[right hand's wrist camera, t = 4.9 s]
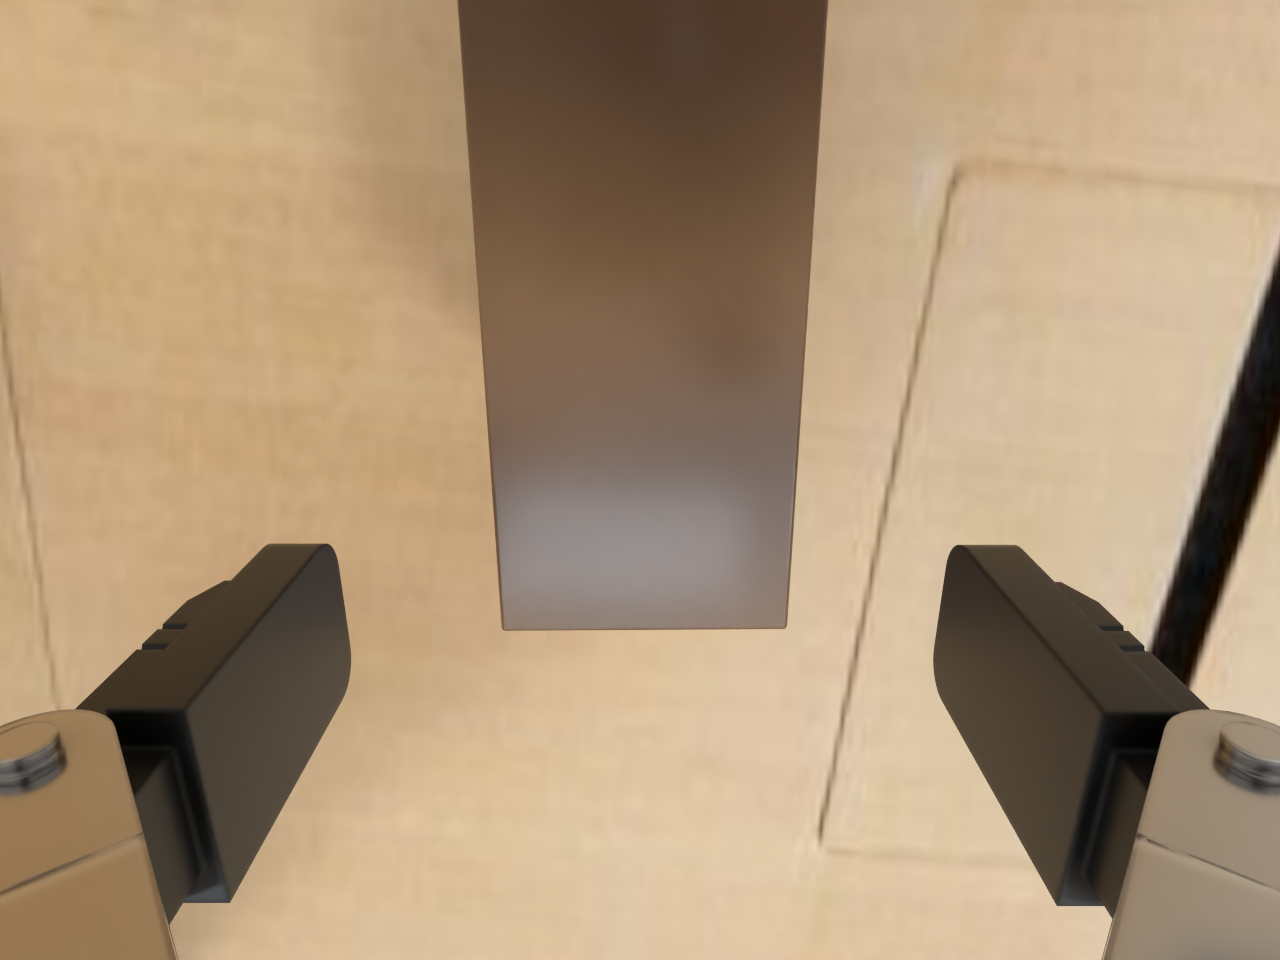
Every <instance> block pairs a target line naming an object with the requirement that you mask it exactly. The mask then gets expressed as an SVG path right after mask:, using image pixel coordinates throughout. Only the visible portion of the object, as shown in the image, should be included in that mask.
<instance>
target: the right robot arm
mask: <svg viewBox="0 0 1280 960" xmlns="http://www.w3.org/2000/svg"><path fill="white" fill-rule="evenodd" d="M933 663H934V675H935V681H936V686H937V690H938V693H939V695H940V698H941V700H942V702H943V704H944V705H945V707H946V709H947V711H948V713H949V714H950V716H951V718H952V720H953V721H954V723H955V725H956V727H957V729H958V730H959V732H960V734H961V736H962V737H963V739H964V741H965V743H966V745H967V746H968V748H969V750H970V752H971V753H972V755H973V757H974V759H975V761H976V762H977V764H978V766H979V768H980V770H981V771H982V773H983V775H984V777H985V778H986V780H987V782H988V784H989V786H990V787H991V789H992V791H993V793H994V794H995V796H996V798H997V800H998V802H999V803H1000V805H1001V807H1002V809H1003V810H1004V812H1005V814H1006V816H1007V818H1008V819H1009V821H1010V823H1011V825H1012V827H1013V828H1014V830H1015V832H1016V834H1017V835H1018V837H1019V839H1020V841H1021V843H1022V844H1023V846H1024V848H1025V850H1026V851H1027V853H1028V855H1029V857H1030V859H1031V860H1032V862H1033V864H1034V866H1035V867H1036V869H1037V871H1038V873H1039V875H1040V876H1041V878H1042V880H1043V882H1044V884H1045V885H1046V887H1047V889H1048V891H1049V892H1050V894H1051V896H1052V898H1053V900H1054V901H1055V903H1056V905H1057V906H1105V908H1106V909H1107V911H1108V913H1109V914H1110V916H1111V917H1112V923H1111V927H1110V930H1109V934H1108V938H1107V941H1106V945H1105V949H1104V953H1103V956H1102V960H1280V726H1278V725H1276V724H1273V723H1270V722H1267V721H1264V720H1262V719H1259V718H1255V717H1251V716H1248V715H1244V714H1239V713H1234V712H1229V711H1221V710H1210V709H1209V708H1208V707H1207V706H1206V705H1205V704H1204V703H1203V702H1202V701H1201V700H1200V699H1199V698H1198V697H1197V696H1196V695H1195V694H1194V693H1193V692H1191V691H1190V690H1189V689H1188V688H1187V687H1186V686H1185V685H1184V684H1183V683H1182V682H1181V681H1180V680H1179V679H1178V678H1177V677H1176V676H1175V675H1174V674H1173V673H1172V672H1171V671H1170V670H1169V669H1167V668H1166V667H1165V666H1164V665H1163V664H1162V663H1161V662H1160V661H1159V660H1158V659H1157V658H1156V657H1155V656H1154V655H1153V654H1152V653H1151V652H1145V650H1144V646H1143V645H1142V644H1141V643H1140V642H1139V641H1138V640H1137V639H1136V638H1135V637H1134V636H1133V635H1132V634H1131V633H1130V632H1129V631H1124V630H1123V625H1122V624H1121V623H1119V622H1118V621H1117V620H1116V619H1115V618H1114V617H1113V616H1112V615H1111V614H1110V613H1109V612H1108V611H1107V610H1106V609H1105V608H1104V607H1103V606H1102V605H1101V604H1100V603H1099V602H1097V601H1095V600H1093V599H1091V598H1089V597H1088V596H1086V595H1084V594H1082V593H1080V592H1078V591H1076V590H1075V589H1073V588H1071V587H1069V586H1067V585H1065V584H1063V583H1062V582H1054V581H1053V580H1052V579H1051V578H1050V577H1049V576H1048V575H1047V574H1046V573H1045V572H1044V571H1043V570H1042V569H1041V568H1040V567H1039V566H1038V565H1037V564H1036V563H1035V562H1034V561H1033V560H1032V559H1031V558H1030V557H1029V556H1028V555H1027V554H1026V553H1025V552H1024V551H1023V550H1022V549H1021V548H1020V547H1019V546H1017V545H956V546H955V547H954V548H953V549H952V550H951V552H950V554H949V557H948V560H947V565H946V571H945V578H944V584H943V591H942V598H941V605H940V612H939V618H938V625H937V632H936V639H935V646H934V657H933ZM350 669H351V649H350V641H349V634H348V627H347V620H346V613H345V607H344V600H343V593H342V586H341V579H340V572H339V565H338V560H337V556H336V553H335V551H334V549H333V548H332V547H331V546H330V545H329V544H268V545H266V546H265V547H264V548H263V549H262V550H261V551H260V552H259V553H258V554H257V555H256V556H255V557H254V558H253V559H252V560H251V561H250V562H249V563H248V564H247V565H246V566H245V567H244V568H243V569H242V570H241V571H240V572H239V573H238V574H237V575H236V576H235V577H234V578H233V579H232V580H231V581H223V582H221V583H219V584H217V585H216V586H214V587H212V588H210V589H208V590H206V591H205V592H203V593H201V594H199V595H197V596H195V597H193V598H192V599H190V600H188V601H187V602H186V603H184V604H183V605H182V606H181V607H180V608H179V609H178V610H177V611H176V612H175V613H174V614H173V615H172V616H171V617H170V618H169V619H168V620H167V621H166V622H165V623H164V624H163V628H162V629H158V630H157V631H156V632H154V633H153V634H152V635H151V636H150V637H149V638H148V639H147V640H146V641H145V642H144V643H143V644H142V650H136V651H135V652H134V653H133V654H132V655H131V656H130V657H129V658H128V659H127V660H126V661H124V662H123V663H122V664H121V665H120V666H119V667H118V668H117V669H116V670H115V671H114V672H113V673H112V674H111V675H110V676H109V677H108V678H107V679H106V680H105V681H104V682H103V683H102V684H101V685H100V686H99V687H98V688H97V689H96V690H94V691H93V692H92V693H91V694H90V695H89V696H88V697H87V698H86V699H85V700H84V701H83V702H82V703H81V704H80V705H79V706H78V707H77V708H76V709H75V710H59V711H51V712H46V713H41V714H36V715H32V716H29V717H25V718H21V719H18V720H16V721H13V722H10V723H7V724H4V725H2V726H0V960H178V956H177V953H176V949H175V945H174V941H173V938H172V934H171V930H170V927H169V925H170V923H171V921H172V920H173V918H174V916H175V915H176V913H177V912H178V910H179V908H180V907H181V905H182V904H183V903H230V901H231V900H232V898H233V896H234V894H235V892H236V891H237V889H238V887H239V885H240V883H241V882H242V880H243V878H244V876H245V874H246V873H247V871H248V869H249V867H250V865H251V864H252V862H253V860H254V858H255V856H256V854H257V853H258V851H259V849H260V847H261V845H262V844H263V842H264V840H265V838H266V836H267V835H268V833H269V831H270V829H271V827H272V826H273V824H274V822H275V820H276V818H277V817H278V815H279V813H280V811H281V809H282V808H283V806H284V804H285V802H286V800H287V799H288V797H289V795H290V793H291V791H292V790H293V788H294V786H295V784H296V782H297V781H298V779H299V777H300V775H301V773H302V772H303V770H304V768H305V766H306V764H307V763H308V761H309V759H310V757H311V755H312V754H313V752H314V750H315V748H316V746H317V745H318V743H319V741H320V739H321V737H322V736H323V734H324V732H325V730H326V728H327V726H328V725H329V723H330V721H331V719H332V717H333V716H334V714H335V712H336V710H337V708H338V707H339V705H340V703H341V701H342V699H343V697H344V695H345V693H346V690H347V686H348V682H349V677H350Z"/></svg>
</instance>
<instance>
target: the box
mask: <svg viewBox="0 0 1280 960" xmlns="http://www.w3.org/2000/svg"><path fill="white" fill-rule="evenodd" d="M827 10H828V0H458V14H459V28H460V42H461V56H462V70H463V85H464V99H465V113H466V127H467V141H468V155H469V170H470V184H471V198H472V212H473V226H474V240H475V255H476V269H477V283H478V297H479V311H480V325H481V340H482V354H483V368H484V382H485V396H486V410H487V425H488V439H489V453H490V467H491V481H492V495H493V510H494V524H495V538H496V552H497V566H498V580H499V595H500V609H501V623H502V629H503V630H505V631H520V630H680V629H785V628H786V626H787V618H788V603H789V588H790V572H791V557H792V542H793V527H794V512H795V496H796V481H797V466H798V451H799V436H800V420H801V405H802V390H803V375H804V360H805V344H806V329H807V314H808V299H809V284H810V268H811V253H812V238H813V223H814V208H815V192H816V177H817V162H818V147H819V132H820V116H821V101H822V86H823V71H824V56H825V41H826V25H827Z"/></svg>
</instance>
